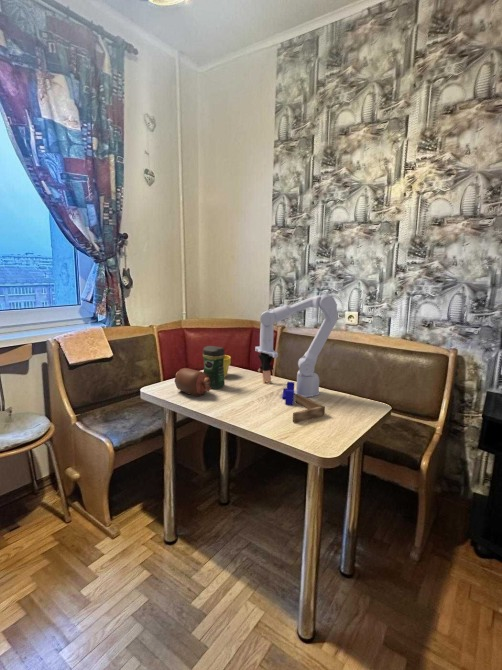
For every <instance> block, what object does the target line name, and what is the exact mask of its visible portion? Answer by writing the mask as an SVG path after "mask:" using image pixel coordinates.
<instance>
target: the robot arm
mask: <svg viewBox="0 0 502 670" xmlns="http://www.w3.org/2000/svg"><path fill="white" fill-rule="evenodd" d="M308 308H314V309H318V308H320V310H321V311H322V314H323V317H324V319H323V321H322V323H321V325H320V327H319V328H318V330H317V332H316V333H315V335H314V337H313V340H312V341H311V343H310V345H309V347H308V349H307V350H306V352H305V353H304V355H302V357H300V358H299V359H298V361H297V366H298V371H297V374H296V388H295V389H296V390H294V395H295V394H299V395H301V396H303V397H305V398H309V397H314V396H319V395H321V392H319V390H320V377H319V375H318V374H317V373H316V372H315V366H316V365H317V362H318V361H317V360H318V356H319V355H320V353H321V351H322V350H323V347H324V345H325V344H326V342H327V340H328V339H329V336H330V334H331V333H332V331H333V329H334V327H335V326H336V323H337V321H338V303H337V301H336V299H335V298H334V297H333V295H329V294H328V293H322V294H320V295H319V294H318V295H314V296H311V297H308V298H305V299H303V300H301V301H299V302H296V303H294V304H293V303H292V304H291V305H288V304H283V303H282V304H279V306H277V307H274V308H269V309H268V310H266V311H263V312H262V313H261V315H260V328H259V331H260V332H259V346H254V347H255V348H254V349H255V350H254V351H255V352H257V353H259V354H258V355H257V356H258V358H259V360H260V363H261V365H262V369H261V370H262V372H263V371H268V370H269V366H270V365H271V363H272V361H273V359H275V358H276V359H277V358H279V353H278V352H277V351H275V350H274V323H278V322H280V321H285V320H287V319H288V318H291V316H292V315H293V313H296V312H299V311H302V310H303V311H304V310H305V309H308Z"/></svg>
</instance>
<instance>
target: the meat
mask: <svg viewBox="0 0 502 670" xmlns="http://www.w3.org/2000/svg"><path fill="white" fill-rule="evenodd" d="M174 383H175V387H176V388H177V389H178V390H180V391H182V392H183V393H185V394H188V395H191V396H196V397H202V396H204V395H206V394H207V393H208V392H210V391H211V389H212V388H210V384H211V381H210V378H209V375H207V374H206V373H204V371H200V370H196V369H192V368H187V367H184V368H180V369H179V370H178V371H177V372H176V374H175V378H174Z"/></svg>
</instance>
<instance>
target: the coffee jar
mask: <svg viewBox="0 0 502 670" xmlns="http://www.w3.org/2000/svg"><path fill="white" fill-rule="evenodd" d="M225 355H226V353H225V348H224V347H221V346H215V345H207V346H203V349H202V358H203V372H204V373H206V374H207V375H209V378H210V381H211V384H210V388H211V389H214V390H216V389H222V388H223V387H224V386H225V383H226V382H225V377H224V368H223V360H224V357H225Z"/></svg>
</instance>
